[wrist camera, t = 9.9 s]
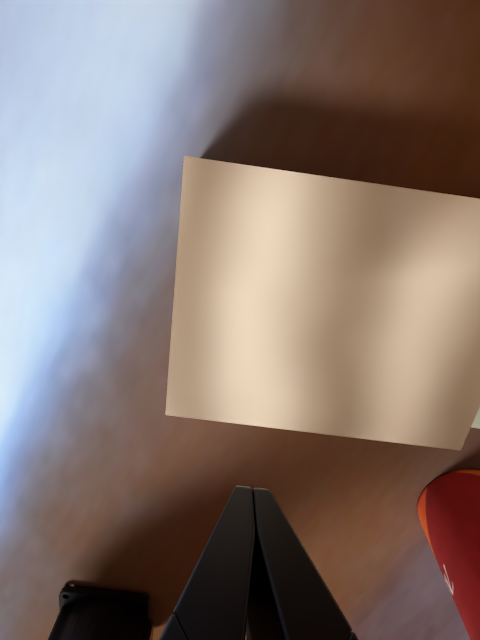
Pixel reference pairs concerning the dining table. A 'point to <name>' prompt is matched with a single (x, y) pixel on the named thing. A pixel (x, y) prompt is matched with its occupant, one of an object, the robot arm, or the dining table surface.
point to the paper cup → (456, 538)
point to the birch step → (325, 306)
